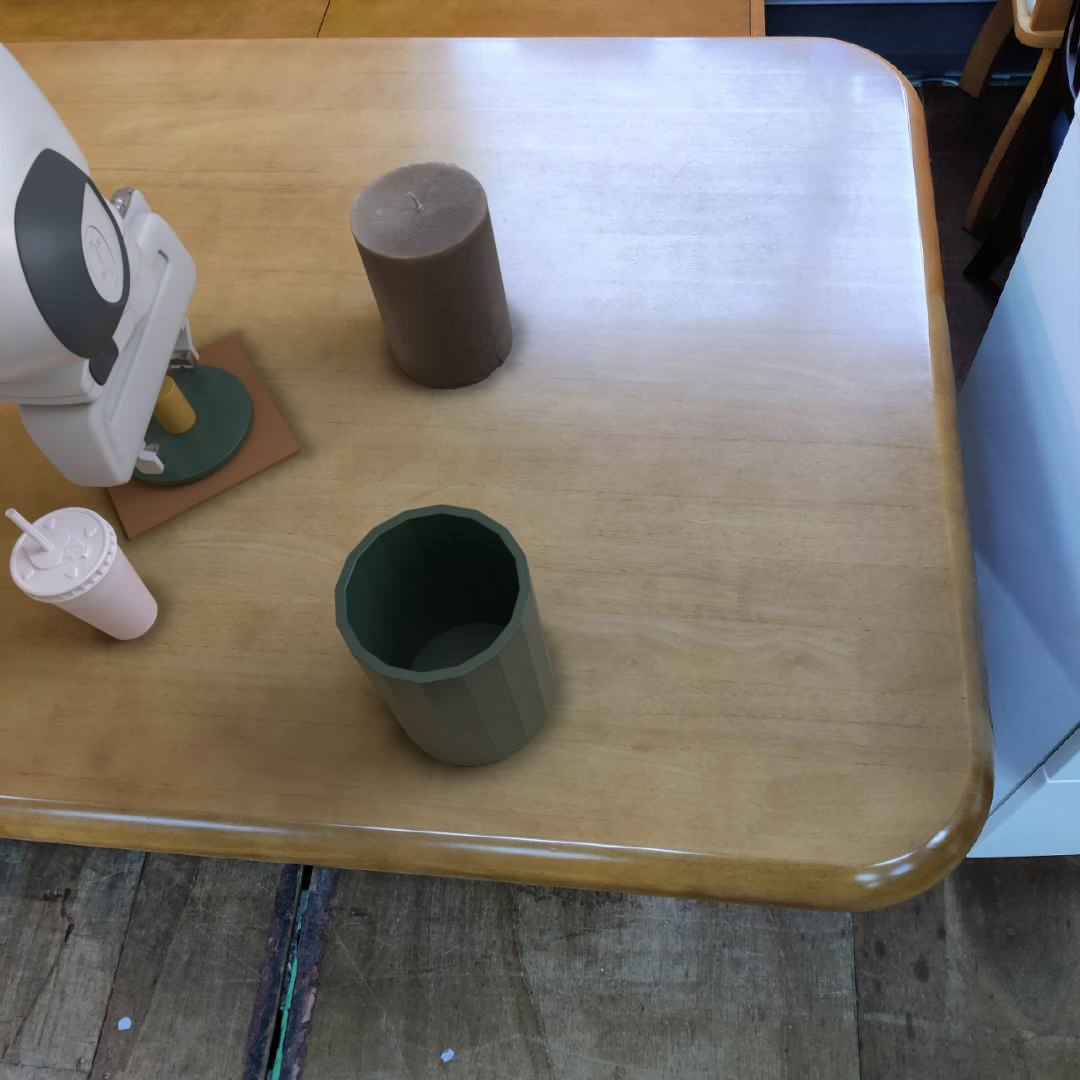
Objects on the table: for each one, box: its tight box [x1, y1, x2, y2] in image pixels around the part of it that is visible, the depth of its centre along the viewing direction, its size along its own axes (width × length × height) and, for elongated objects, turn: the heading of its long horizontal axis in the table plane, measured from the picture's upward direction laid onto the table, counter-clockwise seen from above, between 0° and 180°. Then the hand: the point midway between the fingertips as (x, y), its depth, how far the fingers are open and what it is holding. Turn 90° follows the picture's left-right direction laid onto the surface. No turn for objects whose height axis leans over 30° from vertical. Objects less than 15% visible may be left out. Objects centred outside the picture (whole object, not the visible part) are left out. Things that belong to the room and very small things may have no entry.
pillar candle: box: [349, 161, 514, 390], centre depth 70 cm, size 10×10×15 cm
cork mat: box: [106, 335, 302, 542], centre depth 75 cm, size 14×14×1 cm
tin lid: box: [131, 365, 254, 486], centre depth 72 cm, size 11×11×5 cm
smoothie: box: [5, 506, 158, 641], centre depth 61 cm, size 6×6×14 cm
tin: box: [334, 503, 555, 767], centre depth 55 cm, size 10×10×14 cm
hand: (172, 414), depth 73 cm, fingers open, 8 cm apart
